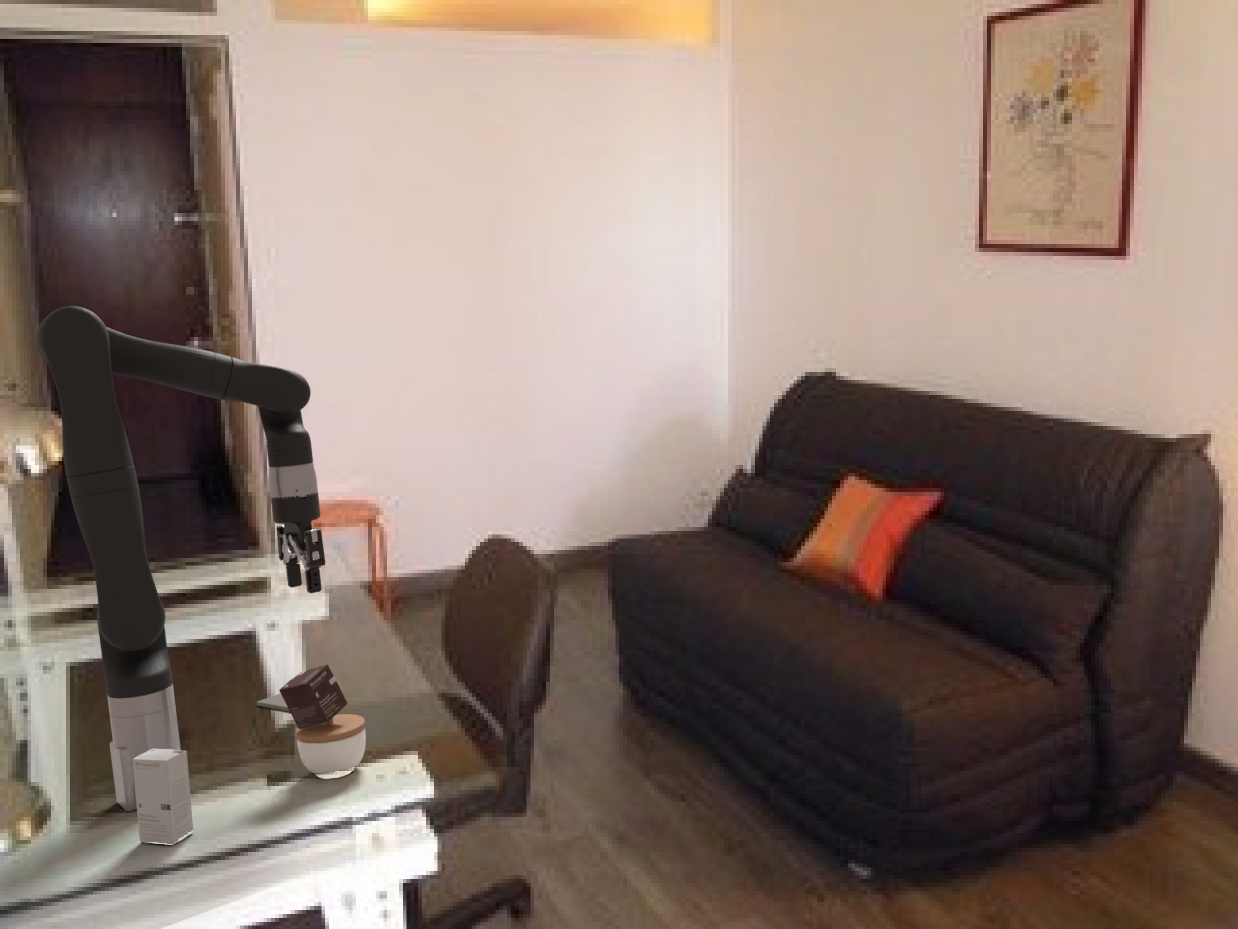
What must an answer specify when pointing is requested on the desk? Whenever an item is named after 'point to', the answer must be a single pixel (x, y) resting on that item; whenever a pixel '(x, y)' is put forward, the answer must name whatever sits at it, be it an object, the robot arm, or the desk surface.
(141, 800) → the skincare box
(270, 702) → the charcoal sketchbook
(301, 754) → the lidded jar
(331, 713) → the box
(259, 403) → the robot arm
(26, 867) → the desk surface
